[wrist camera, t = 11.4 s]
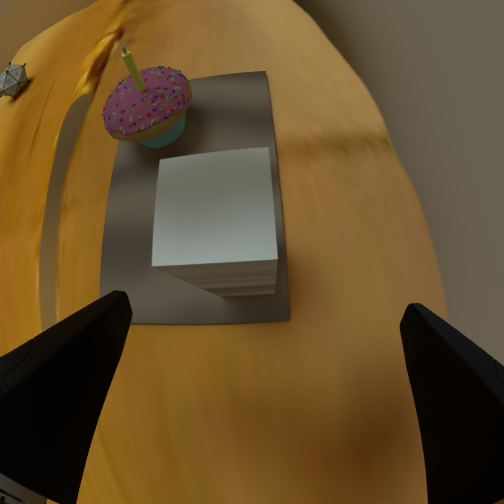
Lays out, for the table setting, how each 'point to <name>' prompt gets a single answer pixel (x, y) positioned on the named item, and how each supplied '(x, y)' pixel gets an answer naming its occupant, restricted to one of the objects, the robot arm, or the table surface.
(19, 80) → the game die
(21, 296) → the table surface
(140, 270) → the gray board with column
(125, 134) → the cupcake
